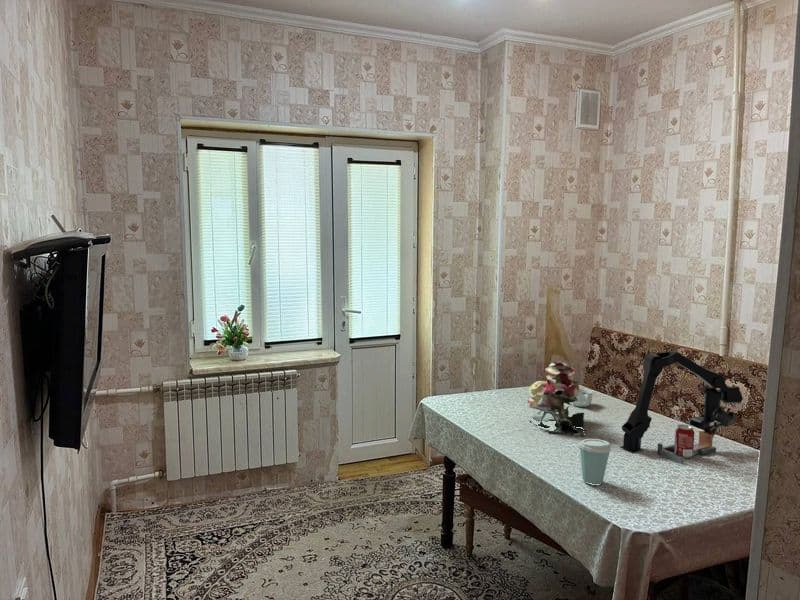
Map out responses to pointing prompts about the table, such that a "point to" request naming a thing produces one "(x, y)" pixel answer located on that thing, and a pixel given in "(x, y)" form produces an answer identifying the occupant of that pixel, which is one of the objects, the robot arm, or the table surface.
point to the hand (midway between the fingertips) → (710, 440)
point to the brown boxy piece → (703, 442)
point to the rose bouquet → (557, 397)
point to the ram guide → (707, 450)
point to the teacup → (583, 398)
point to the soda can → (684, 441)
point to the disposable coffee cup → (594, 459)
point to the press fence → (669, 453)
